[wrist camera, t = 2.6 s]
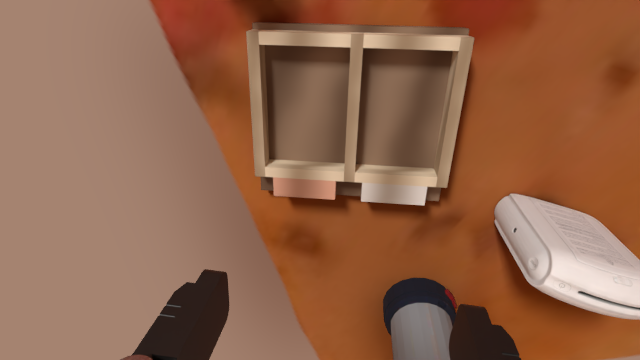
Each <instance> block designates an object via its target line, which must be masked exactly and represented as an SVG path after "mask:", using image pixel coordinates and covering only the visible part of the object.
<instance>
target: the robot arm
mask: <svg viewBox="0 0 640 360" xmlns="http://www.w3.org/2000/svg"><path fill="white" fill-rule="evenodd" d="M228 294H229V293H228V279H227V273H226V272H221V271H214V270H204V271H203V272H202V273H201V275H200V277H199V278H198V280H197V281H196V283H189V282H187V283H186V284H184V285H183V286H182V287H180V288H179V289H178V290H176V291H175V292H174V293H173V295H172V297H171V298H170V299H169V301H168V302H167V305H166V306H165V307H164V308H163V310H162V311H161V313H160V316H158V317H157V319H156V320H155V322H154V323H153V325H152V326H151V328H150V329H149V331H148V332H147V334H146V335H145V337H144V338H143V340H142V341H141V343H140V344H139V346H138V347H137V349H136V350H135V352H134V353H133V354H132V355H131V356H128V357H125V358H123V359H121V360H209V358H210V356H211V354H212V352H213V349H214V347H215V345H216V343H217V341H218V338H219V336H220V334H221V332H222V329H223V327H224V325H225V323H226V320H227V316H228V311H229V295H228ZM449 355H450V360H521V358H519V353H518V351H517V348H516V346H515V343H514V341H513V339H512V338H511V337H510V336H509V334H508V333H507V332H506V331H505V330H504V329H503V327H502V326H499V325H492V324H491V321H490V319H489V316H488V313H487V310H486V309H485V307H480V306H473V305H465V304H460V305H459V307H458V310H457V314H456V317H455V321H454V324H453V327H452V331H451V334H450V339H449Z"/></svg>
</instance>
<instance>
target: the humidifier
mask: <svg viewBox="0 0 640 360" xmlns="http://www.w3.org/2000/svg"><path fill="white" fill-rule="evenodd" d="M454 308H457V306H456V303H455V300H454V297H453V295H452V294H451V292H450V291H449V290H448V289H445V287H444V286H442V285H441V284H439V283H437V282H436V281H433V280H429V279H426V278H411V279H406V280H402V281H400V282H398V283H397V284H395V285H393V286H392V287H391V288H390V289H389V290H388V291H387V292H386V295H385V297H384V299H383V311H384V322H385V326H386V328H387V330H388V333H389V334H390V335H391V337H392V348H393V360H450V355H449V339H450V334H451V331H452V327H453V324H454V321H455V317H456V313H455V309H454Z"/></svg>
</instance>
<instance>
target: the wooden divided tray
mask: <svg viewBox="0 0 640 360" xmlns="http://www.w3.org/2000/svg"><path fill="white" fill-rule="evenodd" d="M252 26H253V29H252V30H249V31H246V35H247V51H248V68H249V84H250V100H251V117H252V133H253V149H254V166H255V176H260V177H261V190H271V191H274V196H285V197H301V198H316V199H332V200H335V196H336V195H349V196H361V201H362V202H378V203H393V204H408V205H424V206H425V200H427V201H439V197H440V191H441V188H447V184H448V179H449V174H450V168H451V163H452V157H453V152H454V146H455V141H456V135H457V130H458V124H459V119H460V114H461V108H462V103H463V97H464V92H465V86H466V81H467V75H468V70H469V65H470V59H471V54H472V48H473V43H474V37H471V36H468V33H469V29H468V28H461V27H423V26H386V25H349V24H311V23H274V22H255V23H252Z"/></svg>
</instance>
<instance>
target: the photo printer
mask: <svg viewBox="0 0 640 360" xmlns="http://www.w3.org/2000/svg"><path fill="white" fill-rule="evenodd" d="M494 213H495V218H496V219H495V225H496V227H497V228H498V230H499V232H500V234H501V236H502V238H503V239H504V241H505V243H506V245H507V246H508V248H509V250H510V252H511V254H512V255H513V257H514V259H515V261H516V263H517V264H518V266H519V268H520V269H521V271H522V273H523V275H524V277H525V278H526V280H527V281H528V282H529V284H531V285H532V286H533V287H535V288H536V289H538V290H540V291H541V292H543V293H545V294H547V295H549V296H551V297H554V298H556V299H558V300H561V301H563V302H566V303H568V304H571V305H574V306H576V307H579V308H582V309H585V310H589V311H592V312H596V313H599V314H603V315H608V316H612V317H617V318H624V319H640V260H639V259H638V258H637V257H636V256H635V255H634V254H633V253H632V252H631V251H630V250H629V249H628V248H627V247H626V246H624V245H623V244H622V243H621V242H620V241H619V240H618V239H617V238H616V237H615V236H614V235H613V234H612V233H611V232H610V231H609V230H608V229H607V228H606V227H605V226H604V225H603V224H602V223H601V222H599V221H598V220H597V219H595V218H593V217H591V216H589V215H587V214H585V213H582V212H579V211H576V210H573V209H570V208H567V207H563V206H560V205H556V204H553V203H550V202H546V201H543V200H539V199H536V198H532V197H528V196H524V195H519V194H510V195H509V196H506V197H504V198H503V199H501V200H500V201H499V203H498V204H497V206H496V208H495V212H494Z"/></svg>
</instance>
